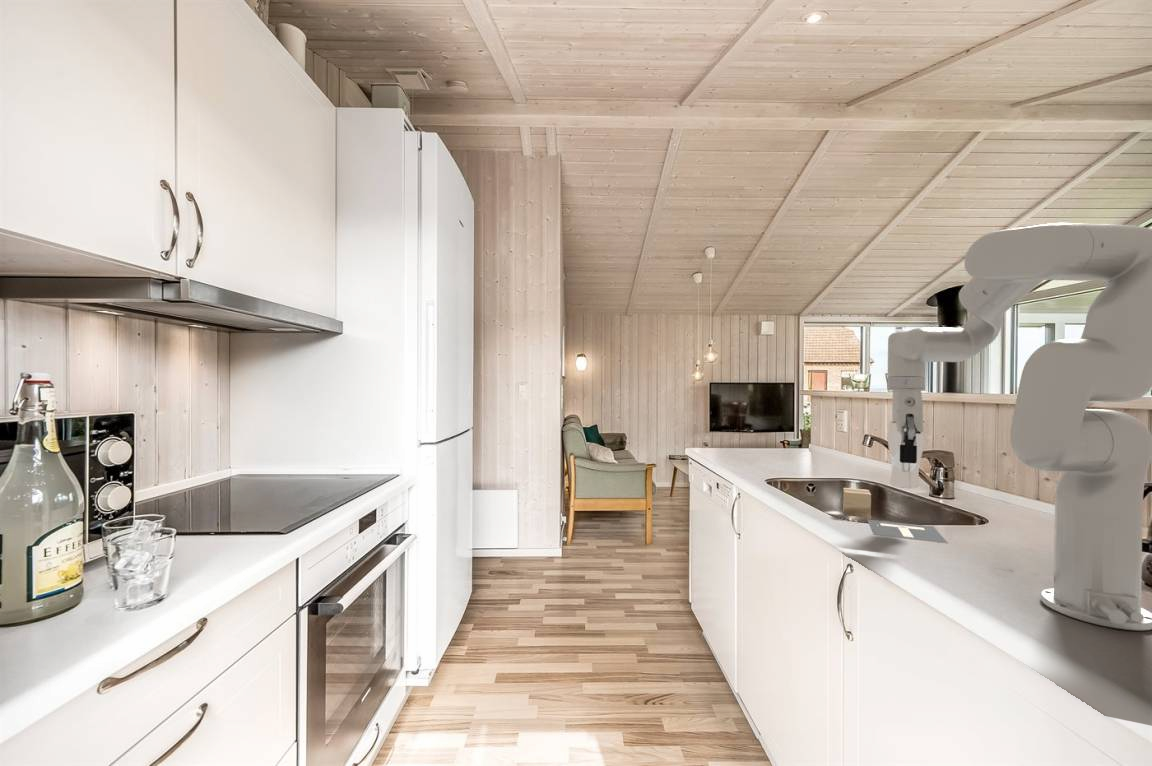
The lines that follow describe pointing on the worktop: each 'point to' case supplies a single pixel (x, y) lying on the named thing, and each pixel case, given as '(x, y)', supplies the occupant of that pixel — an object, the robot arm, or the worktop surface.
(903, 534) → the letter mat
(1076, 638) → the worktop surface
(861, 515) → the oak block
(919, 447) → the beer glass
